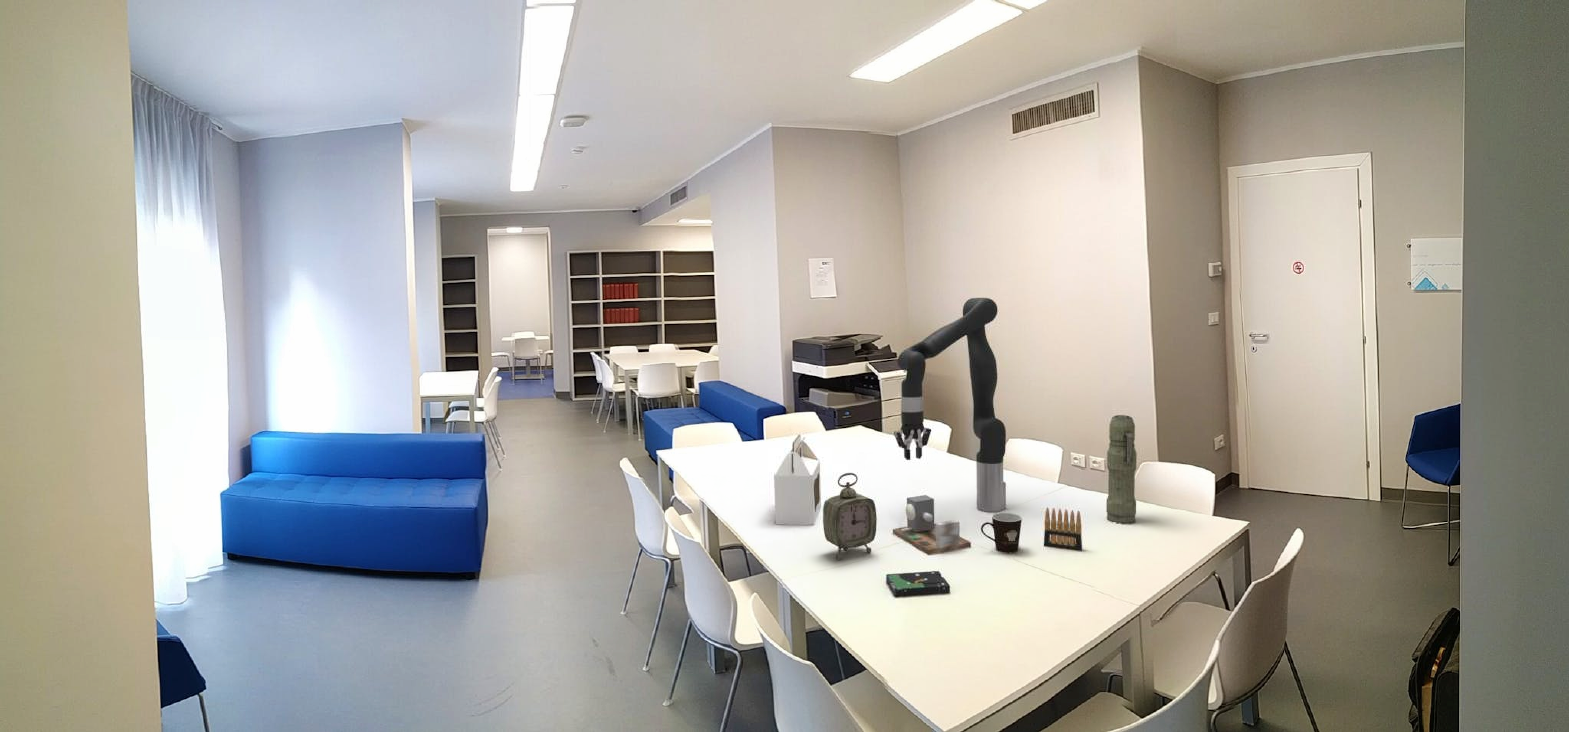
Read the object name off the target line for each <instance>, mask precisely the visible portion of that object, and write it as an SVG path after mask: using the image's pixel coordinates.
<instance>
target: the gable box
mask: <svg viewBox="0 0 1569 732" xmlns="http://www.w3.org/2000/svg"><path fill="white" fill-rule="evenodd" d="M805 438H806V437H803V439H802V436H801V434H798V435H797V437H796V438H795V439H794V441H793V442H792V445H791V446H792V448H791V450H790V451H789V452H788V453H787V454H786V456H785V457H784V459H783V460H782V462H781V464H780V465H779V467H778V468H777V471H776V472H775V474H774V475H773V481H774V483H773V486H774V487H773V488H774V509H775V514H774V515H775V516H774V517H775V525H782V526H784V525H785V526H814V525H815V523H816V520H817V518H818V515H819V513H820V511H821V508H822V496H821V495H822V492H821V463H820V460H819V459H818V457H817V456H816V455H815V453H814V452H813V450H812V449H811V448H810V446H809V445H808V444H807V443H806V442H805Z"/></svg>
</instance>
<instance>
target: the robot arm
mask: <svg viewBox="0 0 1569 732" xmlns="http://www.w3.org/2000/svg"><path fill="white" fill-rule="evenodd" d="M998 309H999V308H998V306H997V304H996V301H994V300H993V299H991V298H989V297H972V298H969V299H967V300H966V301H965V303H964V304H963V306H962V316H961V317H960V318H958V319H957V320H954V321H953V322H951V323H949V324H946V325H944V326H942V327H940V328H939V329H937V330H935V331H934V332H932V333H931V334H930V335H928V336H927V337H925V338H924V339H923V340H921V341H920V342H917V343H915V344H913V345H911V346H910V347H908V348H906V349H904V350H903V351H902V352H901V353H900V354H899V355H898V358H897V360H896V361H897V362H896V363H897V365H898V367H899V369H901V370H902V371H904V372H906V375H905V378H904V379H903V380H902V382H901V400H900V414H901V415H900V417H901V418H900V420H901V422H900V423H901V427H900V429H899V430H898V431H894V432H893V435H894V437H895V440H896V443H897V446H898V448H901V449H903V453H904V454H903V456H904V459H905V460H906V461H911V449H910V448H911V443H913V442H912V441H914V442H915V458H916V459H918V460H919V459H922V456H923V447H924V446H927V445H928V443H929V439H930V436H931V432H932V429H931V428H928V427H925V425H924V418H925V417H924V415H925V414H924V398H923V382H924V379H925V378H924V377H925V373H926V367H927V366H926V364H927V362H926V360H927V359H933V358H936V357H937V356H938V355H939V354H941V353H943V351H945V350H947V349H948V348H949V347H951V346H952V345H953V344H955V343H956V342H958V341H959V340H960V339H962V338H963V337H965V336H966V340H967V351H968V359H969V360H968V361H969V365H968V366H969V376H970V382H971V383H970V386H971V394H972V403H973V408H972V411H973V412H972V414H973V415H972V416H973V418H972V429H973V433H974V435H975V436H976V438H978V439H979V451H978V452H977V453H976V457H975V458H976V459H975V460H976V464H975V465H976V466H975V467H976V509H978V510H979V511H983V512H988V513H996V512H1001V511H1003V510H1005V509H1007V491H1006V490H1007V483H1006V482H1005V481H1004V457H1005V454H1006V448H1007V447H1006V446H1007V445H1006V444H1007V430H1006V426H1005V424H1004V422H1003V421H1002V420H1001V419H999V418H996V414H995V407H994V398H995V393H996V388H997V384H998V368H997V359H996V357H995V354H994V352H993V349H992V347H991V346H990V344H989V340H988V338H987V334H986V327H985V326H986V325H989V324H990V323H992V322H993V321H994V320H995V318H996V317H997V315H998Z"/></svg>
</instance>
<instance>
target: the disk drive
mask: <svg viewBox="0 0 1569 732" xmlns="http://www.w3.org/2000/svg"><path fill="white" fill-rule="evenodd" d="M885 579H886V581H885V582H886V584H887V586H888V587H889V589H890V591H891V593H892V595H893V597H894V598H899V597H900V598H901V597H914V596H915V597H916V596H930V595H931V596H932V595H945V594H947V595H948V594H951V586H950V583H948V581H947V580H946V579H945V577H944V576H942V573H941V572H940V571H939V570H931V571H920V572H919V571H918V572H917V571H916V572H903V573H902V572H901V573H887V574H886V575H885Z"/></svg>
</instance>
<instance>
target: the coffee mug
mask: <svg viewBox="0 0 1569 732" xmlns="http://www.w3.org/2000/svg"><path fill="white" fill-rule="evenodd" d="M1022 519H1023V517H1022V516H1021V515H1020V514H1016V513H1012V512H998V513H994V514H992V515H991V520H992V522H990V521H989V522H988V521H987V522H986V521H985V522H983V523H982V525H981V527H980V530H981V531H980V532H981V533H982V534H983V535H984V536H985V537H987V538H988V539H990V540H991V541H993V542H994V543H995V550H996V551H997V552H999V553H1004V554H1015V553H1017V552H1019V547H1020V536H1021V530H1022V529H1021V528H1022ZM986 525H990V526H991V527H992V529H993V534H994V535H993V536H994V538H993V537H991V536H989V534H986V533H985V531H984V527H985V526H986Z"/></svg>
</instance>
